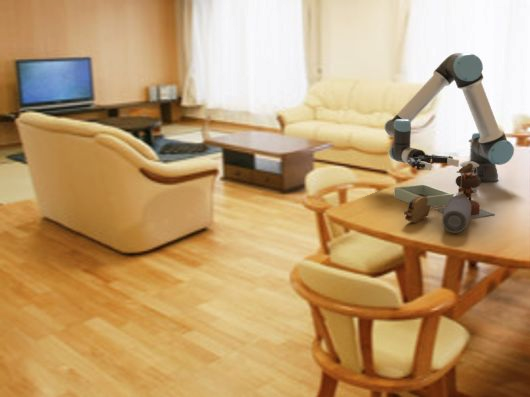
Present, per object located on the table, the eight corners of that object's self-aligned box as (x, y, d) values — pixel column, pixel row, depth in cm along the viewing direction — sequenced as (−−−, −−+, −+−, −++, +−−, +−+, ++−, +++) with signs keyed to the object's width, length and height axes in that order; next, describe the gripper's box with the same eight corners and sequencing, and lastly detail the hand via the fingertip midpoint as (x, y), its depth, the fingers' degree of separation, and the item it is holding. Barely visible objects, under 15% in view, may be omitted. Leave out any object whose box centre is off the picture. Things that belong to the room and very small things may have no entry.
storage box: (423, 193, 262) (424, 183, 261) (452, 204, 244) (453, 194, 243) (394, 197, 257) (394, 187, 256) (421, 208, 239) (422, 198, 238)
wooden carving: (420, 215, 230) (421, 191, 227) (431, 217, 227) (432, 192, 224) (401, 225, 217) (401, 200, 215) (412, 228, 215) (413, 201, 212)
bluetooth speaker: (446, 217, 226) (447, 192, 224) (471, 219, 223) (473, 194, 220) (439, 235, 206) (441, 207, 203) (467, 237, 202) (469, 210, 200)
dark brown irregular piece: (475, 217, 223) (474, 166, 219) (446, 216, 229) (445, 166, 225) (486, 208, 235) (485, 159, 231) (458, 207, 241) (457, 159, 237)
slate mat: (467, 205, 242) (467, 204, 242) (494, 215, 227) (494, 213, 227) (435, 209, 237) (435, 208, 236) (461, 220, 222) (461, 219, 222)
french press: (452, 195, 258) (455, 139, 252) (463, 190, 266) (466, 136, 260) (473, 199, 251) (477, 141, 245) (484, 193, 260) (488, 138, 253)
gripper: (437, 162, 264) (468, 170, 245) (389, 168, 256) (418, 177, 236) (437, 146, 262) (469, 153, 243) (390, 151, 254) (419, 159, 235)
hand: (444, 165), depth 240 cm, fingers open, 13 cm apart
